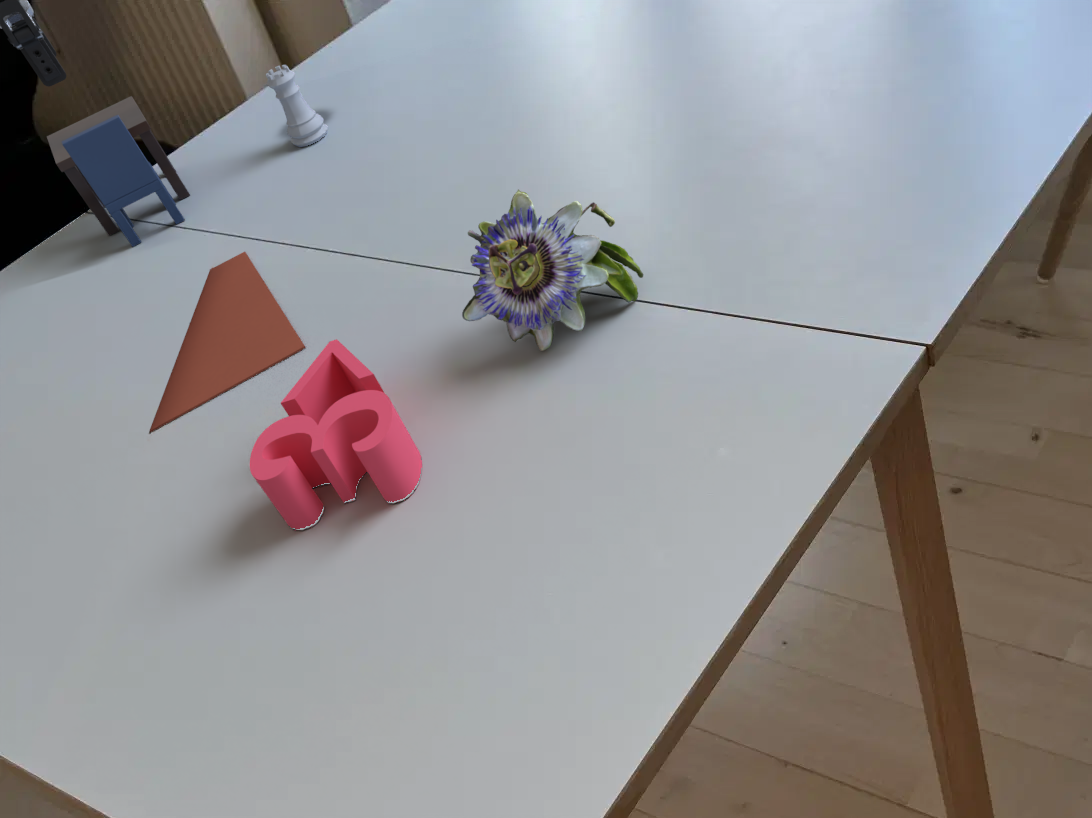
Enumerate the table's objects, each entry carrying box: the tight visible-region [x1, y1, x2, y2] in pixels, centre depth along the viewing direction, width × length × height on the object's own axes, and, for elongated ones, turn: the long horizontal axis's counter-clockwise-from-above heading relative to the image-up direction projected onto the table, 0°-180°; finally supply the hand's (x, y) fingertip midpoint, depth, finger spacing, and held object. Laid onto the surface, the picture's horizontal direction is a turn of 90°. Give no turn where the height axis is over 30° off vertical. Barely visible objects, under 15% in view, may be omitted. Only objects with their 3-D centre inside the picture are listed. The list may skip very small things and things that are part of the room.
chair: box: [62, 115, 186, 248], centre depth 115 cm, size 6×6×12 cm
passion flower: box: [461, 189, 644, 352], centre depth 83 cm, size 11×11×12 cm
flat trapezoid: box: [148, 251, 307, 433], centre depth 98 cm, size 22×14×1 cm, turn 30°
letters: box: [249, 338, 423, 529], centre depth 78 cm, size 14×10×5 cm
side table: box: [46, 95, 191, 237], centre depth 121 cm, size 10×10×9 cm
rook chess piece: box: [265, 64, 329, 148], centre depth 121 cm, size 4×4×8 cm
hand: (52, 70), depth 105 cm, fingers open, 8 cm apart
